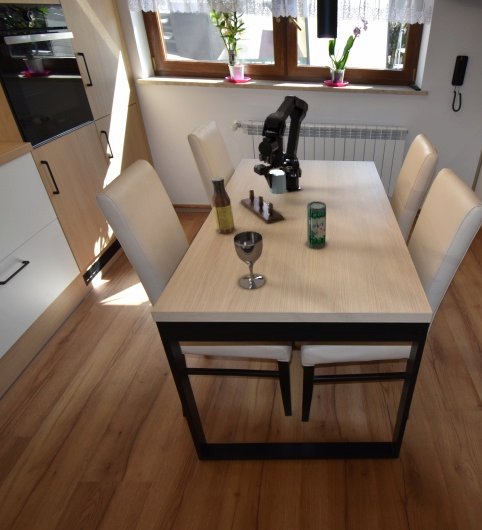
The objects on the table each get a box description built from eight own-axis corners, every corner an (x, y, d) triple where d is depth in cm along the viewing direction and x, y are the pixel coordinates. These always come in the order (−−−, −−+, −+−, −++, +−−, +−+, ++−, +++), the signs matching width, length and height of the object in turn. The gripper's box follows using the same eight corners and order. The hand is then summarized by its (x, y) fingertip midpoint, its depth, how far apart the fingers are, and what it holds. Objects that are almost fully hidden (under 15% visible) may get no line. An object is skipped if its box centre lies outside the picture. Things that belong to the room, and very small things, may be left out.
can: (312, 250, 133) (312, 210, 125) (305, 242, 138) (304, 203, 129) (327, 246, 136) (329, 207, 127) (320, 238, 140) (321, 200, 132)
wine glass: (240, 274, 119) (235, 231, 111) (266, 274, 120) (263, 231, 112) (237, 289, 113) (231, 245, 104) (264, 289, 113) (261, 244, 105)
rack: (256, 199, 168) (254, 185, 164) (283, 219, 152) (282, 203, 149) (241, 203, 164) (239, 188, 160) (267, 223, 149) (266, 208, 145)
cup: (280, 186, 169) (280, 169, 164) (289, 192, 164) (288, 173, 160) (267, 190, 165) (265, 171, 161) (275, 195, 161) (274, 176, 156)
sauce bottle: (238, 228, 144) (232, 177, 134) (227, 235, 139) (220, 183, 129) (224, 225, 146) (217, 174, 136) (213, 231, 142) (205, 179, 131)
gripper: (285, 141, 165) (287, 176, 174) (245, 147, 156) (249, 184, 164) (300, 148, 158) (300, 184, 166) (259, 155, 148) (261, 193, 157)
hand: (278, 186), depth 164 cm, fingers closed on cup, 7 cm apart
